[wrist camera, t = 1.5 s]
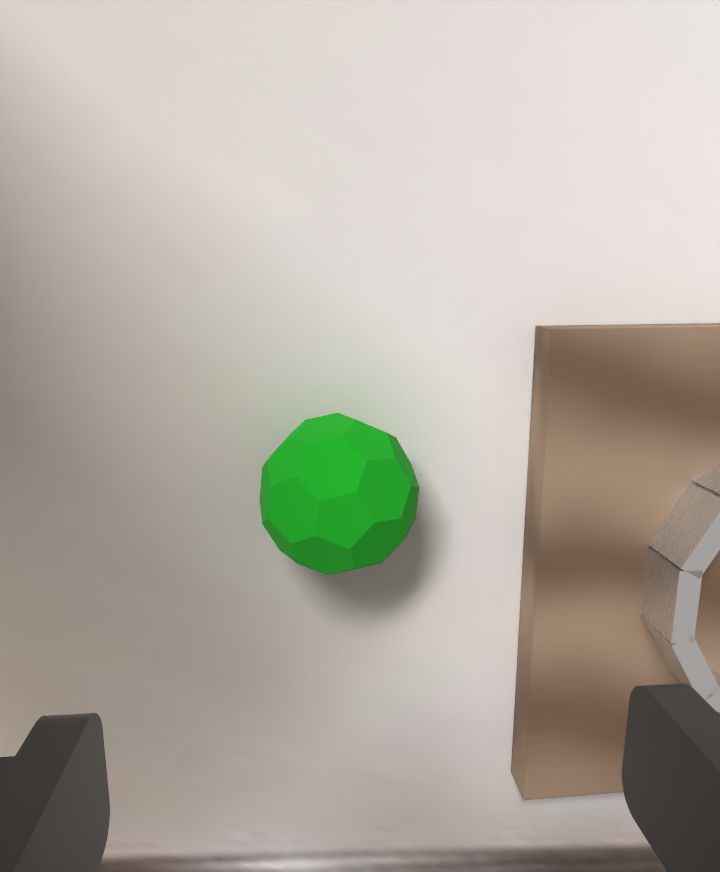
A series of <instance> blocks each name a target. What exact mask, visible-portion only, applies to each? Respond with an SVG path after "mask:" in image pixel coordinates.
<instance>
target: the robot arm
mask: <svg viewBox="0 0 720 872" xmlns="http://www.w3.org/2000/svg"><path fill="white" fill-rule="evenodd" d="M622 785H623V791H624V795H625V799H626V802H627V805H628V808H629V810H630V812H631V815H632V817H633V818H634V820H635V822H636V823H637V825H638V826H639V828H640V830H641V831H642V833H643V834H644V836H645V837H646V839H647V841H648V842H649V844H650V845H651V847H652V848H653V850H654V852H655V853H656V855H657V856H658V858H659V860H660V861H661V863H662V864H663V866H664V867H665V869H666V871H667V872H720V715H719V714H718V713H717V712H716V711H715V710H714V709H713V708H712V707H711V706H710V705H709V704H708V703H707V702H706V701H705V700H704V699H703V698H702V697H701V696H700V695H699V694H698V693H697V692H696V691H695V690H694V689H693V688H692V687H691V686H689V685H688V684H684V683H682V684H663V685H644V686H636V687H635V688H634V689H633V690H632V692H631V695H630V699H629V707H628V716H627V725H626V735H625V744H624V753H623V763H622ZM109 816H110V803H109V791H108V781H107V771H106V760H105V750H104V739H103V729H102V723H101V719H100V716H99V715H98V714H97V713H92V714H73V715H54V716H42V717H40V718H39V719H38V721H37V722H36V723H35V725H34V727H33V728H32V730H31V731H30V733H29V735H28V736H27V738H26V740H25V741H24V743H23V744H22V746H21V748H20V749H19V751H18V753H17V754H16V756H13V757H0V872H97V870H98V868H99V865H100V862H101V859H102V856H103V853H104V849H105V845H106V840H107V835H108V828H109Z"/></svg>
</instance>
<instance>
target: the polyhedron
mask: <svg viewBox="0 0 720 872" xmlns="http://www.w3.org/2000/svg"><path fill="white" fill-rule="evenodd" d="M418 493H419V486H418V483H417V480H416V477H415V474H414V471H413V468H412V465H411V463H410V461H409V460H408V458H407V456H406V454H405V453H404V451H403V449H402V447H401V446H400V444H399V442H398V440H397V439H396V438H395V437H394V436H392V435H390V434H388V433H386V432H383V431H381V430H379V429H376V428H374V427H372V426H369V425H367V424H364V423H362V422H360V421H357V420H355V419H352V418H350V417H347V416H344V415H342V414H339V413H335V414H331V415H326V416H322V417H317V418H313V419H308V420H305V421H304V422H303V423H302V424H301V425H300V426H299V427H298V428H297V429H295V430H294V431H293V432H292V433H291V434H290V435H289V437H288V438H287V439H286V440H285V441H284V442H283V443H282V444H281V445H280V447H279V448H278V449H277V450H276V451H275V452H274V453H273V454H272V455H271V457H270V458H269V459H268V460H267V461H266V463H265V464H264V466H263V468H262V480H261V492H260V505H261V515H262V524H263V525H264V527H265V528H266V530H267V531H268V533H269V534H270V536H271V537H272V539H273V540H274V542H275V543H276V545H277V546H278V548H279V549H280V551H282V552H283V553H284V554H286V555H287V556H288V557H290V558H291V559H292V560H294V561H295V562H296V563H298V564H301V565H303V566H306V567H309V568H311V569H314V570H316V571H319V572H322V573H324V574H327V575H328V574H334V573H340V572H344V571H348V570H353V569H357V568H361V567H366V566H370V565H374V564H377V563H381V562H383V560H384V559H385V558H386V557H387V556H388V555H389V554H390V553H391V552H392V551H393V550H394V549H395V548H396V547H397V546H398V545H399V544H400V543H401V542H402V540H403V539H404V538H405V536H406V534H407V533H408V531H409V529H410V527H411V525H412V524H413V522H414V520H415V514H416V507H417V500H418Z"/></svg>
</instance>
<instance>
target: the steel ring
mask: <svg viewBox="0 0 720 872" xmlns="http://www.w3.org/2000/svg"><path fill="white" fill-rule="evenodd" d="M692 481H693V483H694V484H692V483H689V484H688V486H687V487H686V489H685V490H684V492H683V493H682V495H681V496H680V498H679V499H678V501H677V502H676V504H675V505H674V506H673V508H672V509H671V511H670V512H669V514H668V515H667V517H666V518H665V520H664V521H663V523H662V524H661V526H660V527H659V529H658V530H657V532H656V533H655V535H654V536H653V538H652V539H651V541H650V542H649V543H648V545H650V546H651V547H647V551H646V561H645V571H644V580H643V590H642V600H641V609H640V614H641V618H642V620H643V622H644V624H645V626H646V627H647V629H648V631H649V633H650V635H651V637H652V639H653V641H654V643H655V645H656V647H657V649H658V650H659V652H660V654H661V656H662V658H663V660H664V662H665V664H666V666H667V668H668V669H669V670H670V671H671V672H672V673H673V674H674V675H675V676H676V677H677V678H678V680H679V681H680V682H681V683H684V684H688V685H689V686H691V687H692V688H693V689H694V690H695V691H696V692H697V693H698V694H699V695H700V696H701V697H702V698H703V699H704V700H705V701H706V702H707V703H708V704H709V705H710V706H711V707H712V708H713V709H714V710H715V711H717V712H719V713H720V672H718V671H716V670H714V669H712V668H710V667H709V666H708V664H707V662H706V660H705V658H704V656H703V654H702V652H701V650H700V648H699V646H698V644H697V642H696V640H695V638H694V637H695V629H696V621H697V613H698V605H699V597H700V589H701V581H702V575H703V573H704V572H705V570H706V569H707V567H708V566H709V565H710V563H711V562H712V560H713V559H714V557H715V556H716V555H717V553H718V552H719V550H720V464H719V465H717V466H716V467H714V468H712V469H711V470H709V471H707V472H705V473H704V474H702V475H700V476H698V477H697V478H695V479H693V480H692Z"/></svg>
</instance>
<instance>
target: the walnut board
mask: <svg viewBox="0 0 720 872" xmlns="http://www.w3.org/2000/svg"><path fill="white" fill-rule="evenodd" d="M719 464H720V323H712V324H641V325H569V326H536V331H535V349H534V367H533V385H532V403H531V421H530V439H529V457H528V475H527V493H526V511H525V529H524V547H523V565H522V583H521V601H520V620H519V638H518V656H517V674H516V692H515V710H514V728H513V746H512V764H511V772H512V775H513V777H514V779H515V782H516V784H517V786H518V788H519V791H520V793H521V795H522V798H523V800H531V799H543V798H555V797H567V796H579V795H592V794H604V793H616V792H624V791H623V785H622V763H623V753H624V744H625V735H626V725H627V716H628V707H629V699H630V695H631V692H632V690H633V689H634V688H635V687H636V686H644V685H663V684H682V683H681V682H680V681H679V680H678V678H677V677H676V676H675V675H674V674H673V673H672V672H671V671H670V670H669V669H668V668H667V666H666V664H665V662H664V660H663V658H662V656H661V654H660V652H659V650H658V649H657V647H656V645H655V643H654V641H653V639H652V637H651V635H650V633H649V631H648V629H647V627H646V626H645V624H644V622H643V620H642V618H641V614H640V609H641V600H642V590H643V580H644V571H645V561H646V551H647V547H651V546H650V545H648V543H649V542H650V541H651V539H652V538H653V536H654V535H655V533H656V532H657V530H658V529H659V527H660V526H661V524H662V523H663V521H664V520H665V518H666V517H667V515H668V514H669V512H670V511H671V509H672V508H673V506H674V505H675V504H676V502H677V501H678V499H679V498H680V496H681V495H682V493H683V492H684V490H685V489H686V487H687V486H688V484H689V483H692V484H694V483H693V481H692V480H693V479H695V478H697V477H698V476H700V475H702V474H704V473H705V472H707V471H709V470H711V469H712V468H714V467H716V466H717V465H719ZM694 638H695V640H696V642H697V644H698V646H699V648H700V650H701V652H702V654H703V656H704V658H705V660H706V662H707V664H708V666H709V667H710V668H712V669H714V670H716V671H718V672H720V550H719V552H718V553H717V555H716V556H715V557H714V559H713V560H712V562H711V563H710V565H709V566H708V567H707V569H706V570H705V572H704V573H703V575H702V581H701V589H700V597H699V605H698V613H697V621H696V629H695V637H694ZM716 712H717V711H716ZM717 713H718V714H719V715H720V713H719V712H717Z"/></svg>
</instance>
